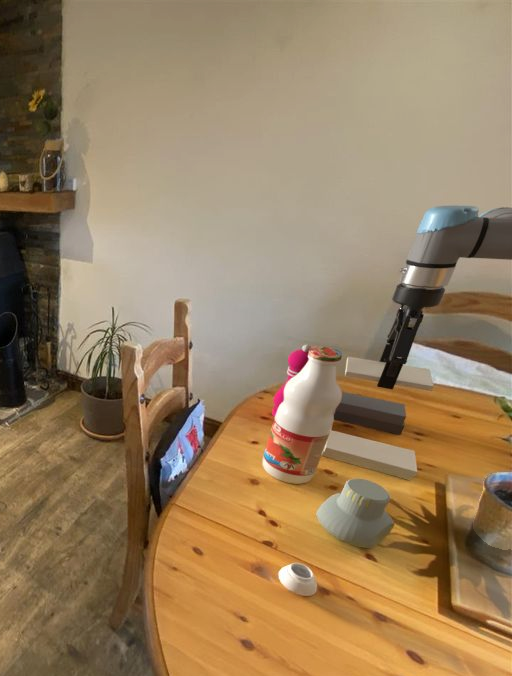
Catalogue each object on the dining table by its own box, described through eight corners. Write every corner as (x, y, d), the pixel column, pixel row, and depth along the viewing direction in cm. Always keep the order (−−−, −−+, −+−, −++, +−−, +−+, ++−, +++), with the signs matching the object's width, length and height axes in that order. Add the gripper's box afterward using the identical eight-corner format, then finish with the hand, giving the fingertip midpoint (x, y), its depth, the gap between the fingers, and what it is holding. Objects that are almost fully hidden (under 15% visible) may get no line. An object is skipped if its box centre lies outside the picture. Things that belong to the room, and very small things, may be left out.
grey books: (399, 421, 102) (407, 404, 100) (400, 435, 98) (409, 417, 95) (333, 406, 110) (339, 390, 108) (331, 419, 105) (338, 402, 103)
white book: (427, 373, 97) (429, 369, 96) (431, 391, 90) (434, 386, 89) (346, 360, 105) (347, 356, 105) (344, 375, 99) (346, 371, 98)
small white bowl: (278, 589, 65) (317, 602, 63) (283, 577, 64) (323, 590, 62) (277, 565, 69) (314, 576, 67) (282, 553, 68) (319, 564, 65)
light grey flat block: (410, 459, 90) (414, 450, 89) (412, 481, 84) (417, 471, 83) (324, 437, 99) (327, 429, 97) (321, 455, 93) (324, 447, 92)
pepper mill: (300, 411, 109) (323, 340, 99) (304, 426, 103) (329, 352, 94) (268, 407, 112) (287, 337, 102) (271, 420, 106) (291, 348, 97)
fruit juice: (322, 486, 84) (371, 362, 71) (271, 484, 86) (310, 361, 73) (299, 457, 93) (340, 341, 80) (254, 455, 94) (286, 341, 81)
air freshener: (357, 561, 69) (379, 517, 64) (305, 528, 75) (322, 486, 71) (392, 535, 73) (415, 492, 68) (340, 506, 80) (357, 464, 75)
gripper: (395, 272, 98) (364, 358, 108) (400, 296, 82) (363, 394, 93) (440, 274, 93) (403, 364, 104) (453, 301, 78) (408, 403, 88)
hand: (384, 378), depth 98 cm, fingers closed on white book, 10 cm apart
